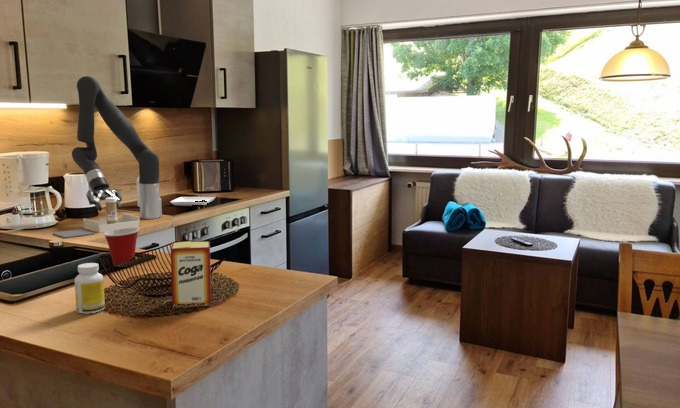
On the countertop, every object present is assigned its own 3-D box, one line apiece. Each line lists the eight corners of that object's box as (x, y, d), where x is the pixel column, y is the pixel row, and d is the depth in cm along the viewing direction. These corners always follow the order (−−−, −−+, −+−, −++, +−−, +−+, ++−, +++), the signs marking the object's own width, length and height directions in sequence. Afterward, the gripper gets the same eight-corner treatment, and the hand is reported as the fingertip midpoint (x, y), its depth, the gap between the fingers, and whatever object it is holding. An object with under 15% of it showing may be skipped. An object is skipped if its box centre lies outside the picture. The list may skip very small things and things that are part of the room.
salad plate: (169, 207, 300) (169, 201, 300) (181, 201, 321) (180, 196, 321) (206, 207, 300) (206, 201, 300) (215, 202, 321) (215, 196, 321)
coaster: (82, 230, 230) (81, 229, 230) (94, 234, 222) (94, 232, 222) (52, 234, 221) (52, 232, 221) (65, 238, 213) (65, 237, 213)
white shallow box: (124, 222, 249) (124, 213, 248) (140, 226, 240) (139, 216, 239) (83, 228, 234) (83, 218, 234) (98, 232, 225) (98, 222, 225)
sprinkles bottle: (111, 228, 234) (109, 198, 232) (104, 227, 236) (102, 197, 234) (120, 227, 238) (118, 197, 236) (113, 226, 240) (111, 196, 238)
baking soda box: (211, 298, 143) (209, 240, 140) (211, 306, 136) (209, 245, 134) (174, 300, 140) (172, 241, 138) (172, 308, 134) (170, 247, 132)
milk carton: (149, 207, 295) (147, 173, 292) (137, 207, 296) (136, 173, 293) (155, 205, 302) (154, 172, 299) (144, 205, 303) (143, 172, 300)
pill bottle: (109, 310, 132) (107, 265, 131) (83, 317, 128) (80, 270, 126) (98, 304, 137) (95, 260, 135) (72, 310, 132) (69, 265, 130)
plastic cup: (111, 262, 178) (109, 226, 177) (144, 261, 179) (142, 226, 178) (99, 270, 168) (97, 233, 166) (135, 270, 169) (133, 233, 167)
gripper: (83, 177, 234) (96, 205, 229) (114, 175, 245) (128, 202, 239) (79, 187, 239) (91, 216, 233) (109, 185, 249) (122, 212, 244)
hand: (110, 209), depth 236 cm, fingers open, 8 cm apart
